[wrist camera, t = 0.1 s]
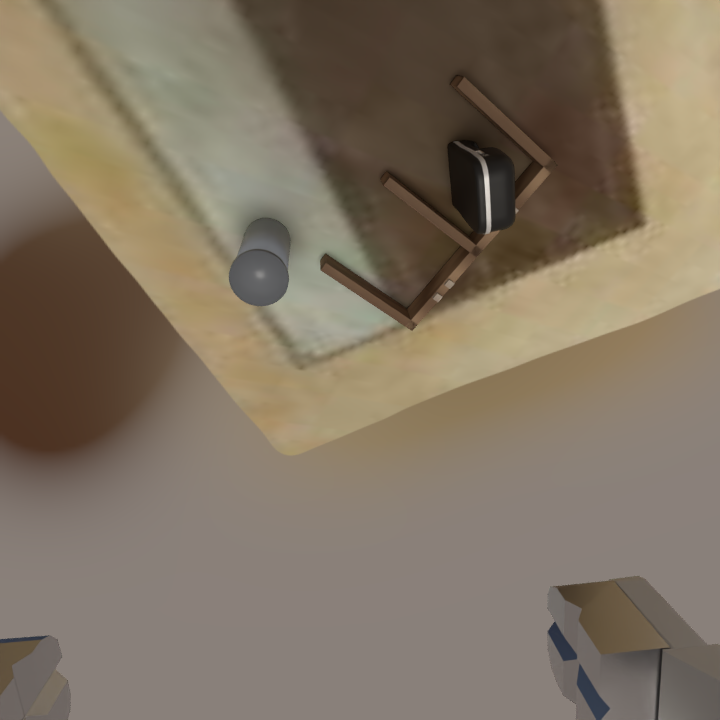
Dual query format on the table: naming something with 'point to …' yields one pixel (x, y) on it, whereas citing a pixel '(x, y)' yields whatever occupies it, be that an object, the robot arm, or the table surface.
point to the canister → (262, 263)
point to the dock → (469, 244)
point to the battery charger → (482, 186)
